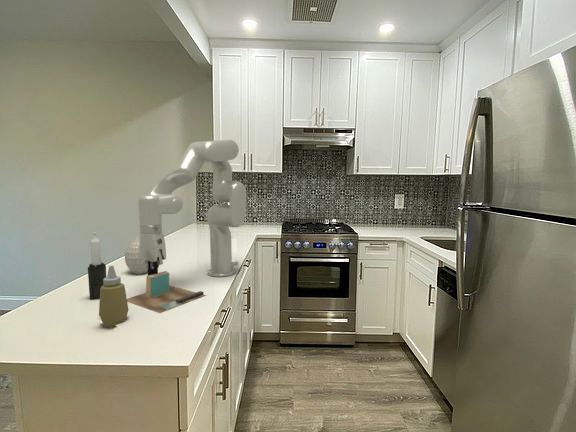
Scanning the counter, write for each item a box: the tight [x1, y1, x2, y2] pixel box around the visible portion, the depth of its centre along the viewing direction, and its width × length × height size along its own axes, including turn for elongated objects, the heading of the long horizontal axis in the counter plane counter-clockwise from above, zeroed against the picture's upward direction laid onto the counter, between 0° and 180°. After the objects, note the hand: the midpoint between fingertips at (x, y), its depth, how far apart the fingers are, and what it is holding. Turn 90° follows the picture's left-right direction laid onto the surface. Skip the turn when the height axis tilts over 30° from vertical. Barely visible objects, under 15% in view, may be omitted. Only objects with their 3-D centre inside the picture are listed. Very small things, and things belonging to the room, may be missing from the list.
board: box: [127, 284, 207, 314], centre depth 125 cm, size 20×21×1 cm
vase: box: [124, 235, 148, 275], centre depth 161 cm, size 13×13×17 cm
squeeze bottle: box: [98, 265, 130, 328], centre depth 105 cm, size 8×8×18 cm
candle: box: [87, 231, 107, 301], centre depth 124 cm, size 5×5×25 cm
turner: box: [159, 290, 204, 311], centre depth 122 cm, size 17×4×1 cm, turn 146°
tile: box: [145, 270, 170, 299], centre depth 127 cm, size 8×2×8 cm, turn 146°
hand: (153, 278), depth 128 cm, fingers closed
